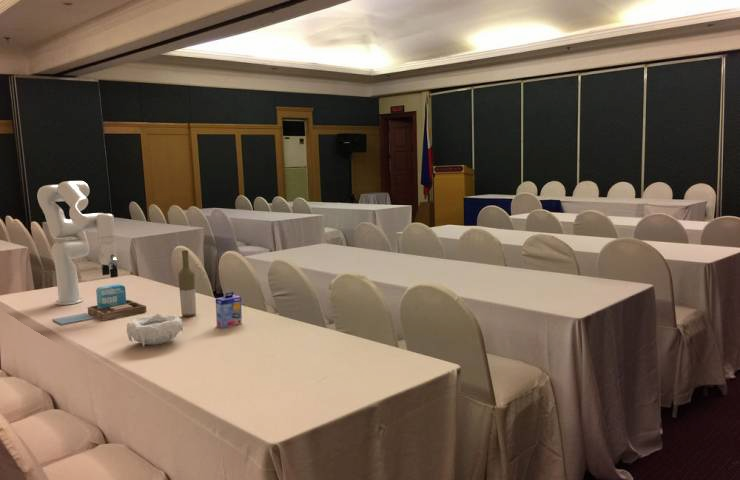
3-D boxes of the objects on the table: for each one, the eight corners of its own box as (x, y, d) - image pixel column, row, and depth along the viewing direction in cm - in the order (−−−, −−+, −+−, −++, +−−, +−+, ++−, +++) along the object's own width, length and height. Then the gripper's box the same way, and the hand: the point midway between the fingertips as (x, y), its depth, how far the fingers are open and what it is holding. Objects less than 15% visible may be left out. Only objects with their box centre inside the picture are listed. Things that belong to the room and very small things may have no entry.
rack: (88, 313, 276) (87, 307, 276) (129, 305, 290) (128, 299, 290) (103, 320, 263) (103, 314, 262) (146, 312, 276) (146, 305, 276)
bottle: (178, 315, 268) (173, 250, 264) (192, 312, 273) (188, 249, 269) (185, 318, 263) (181, 252, 259) (199, 315, 268) (195, 250, 264)
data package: (101, 314, 275) (99, 288, 273) (97, 312, 278) (95, 287, 276) (127, 309, 283) (125, 284, 281) (123, 307, 286) (121, 283, 284)
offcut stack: (107, 316, 272) (106, 307, 272) (128, 311, 279) (128, 303, 278) (112, 318, 267) (112, 310, 267) (134, 314, 274) (134, 306, 273)
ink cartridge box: (223, 328, 246) (221, 294, 244) (215, 326, 250) (214, 293, 248) (243, 323, 253) (241, 290, 251) (235, 321, 257) (234, 289, 255)
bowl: (128, 339, 234) (126, 314, 232) (182, 333, 241) (180, 309, 239) (127, 354, 214) (125, 328, 213) (185, 347, 222) (183, 321, 220)
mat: (52, 320, 265) (52, 319, 265) (85, 314, 274) (84, 313, 274) (61, 325, 256) (61, 324, 256) (94, 318, 266) (94, 317, 266)
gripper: (91, 239, 279) (95, 275, 281) (105, 242, 267) (109, 279, 269) (107, 238, 284) (111, 272, 287) (122, 240, 272) (125, 276, 274)
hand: (110, 275), depth 278 cm, fingers open, 9 cm apart
